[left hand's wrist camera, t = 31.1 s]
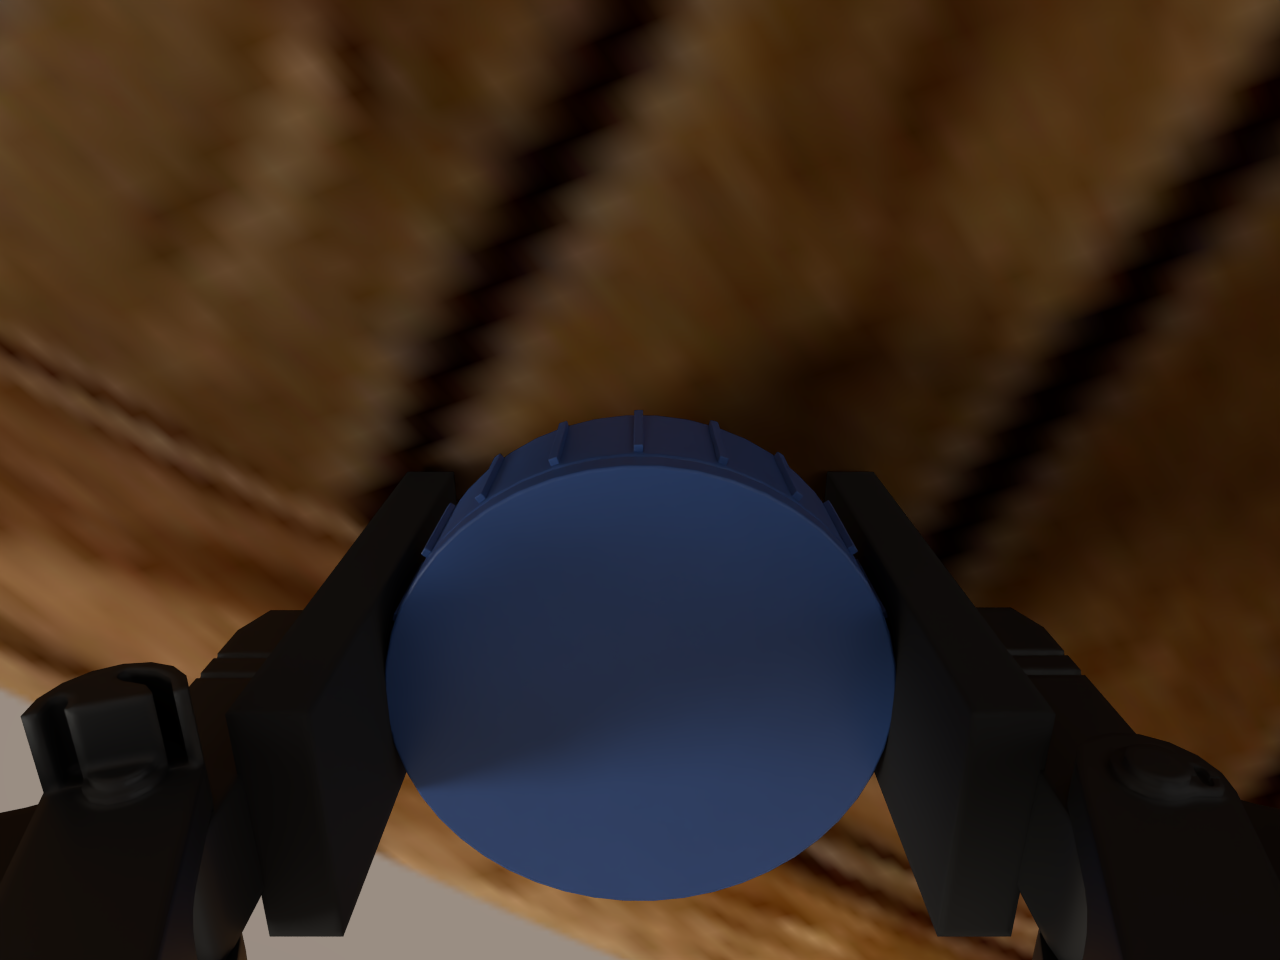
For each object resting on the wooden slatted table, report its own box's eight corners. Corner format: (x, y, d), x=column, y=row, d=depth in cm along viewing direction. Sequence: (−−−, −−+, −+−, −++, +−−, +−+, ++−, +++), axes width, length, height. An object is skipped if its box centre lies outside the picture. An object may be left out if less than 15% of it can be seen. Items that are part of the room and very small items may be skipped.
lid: (358, 703, 13) (307, 800, 11) (529, 327, 11) (505, 363, 9) (727, 851, 14) (741, 964, 12) (946, 531, 12) (1006, 603, 10)
